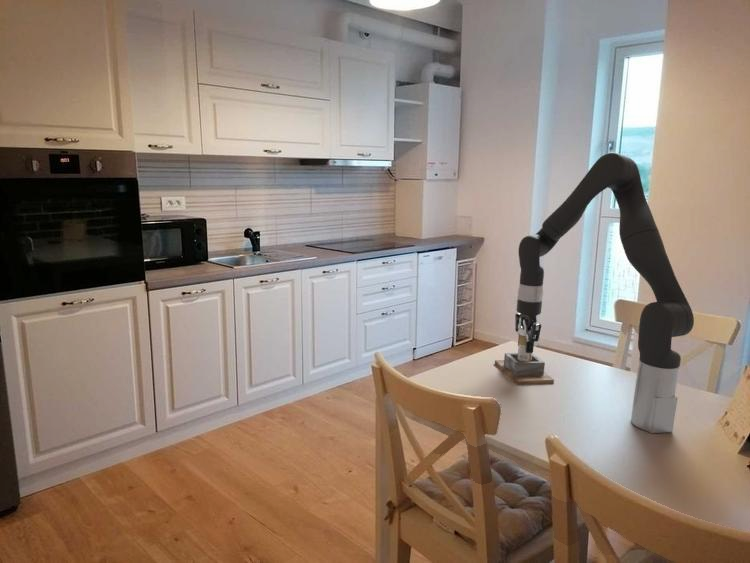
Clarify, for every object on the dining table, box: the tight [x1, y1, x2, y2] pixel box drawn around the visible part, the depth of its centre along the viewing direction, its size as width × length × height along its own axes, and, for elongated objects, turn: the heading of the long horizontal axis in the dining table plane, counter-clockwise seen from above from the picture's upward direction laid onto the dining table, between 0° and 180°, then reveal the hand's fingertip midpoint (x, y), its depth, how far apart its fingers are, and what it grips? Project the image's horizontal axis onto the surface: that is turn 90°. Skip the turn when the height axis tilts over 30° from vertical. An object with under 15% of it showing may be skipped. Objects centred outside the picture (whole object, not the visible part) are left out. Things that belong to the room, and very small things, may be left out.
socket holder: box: [494, 352, 555, 386], centre depth 175 cm, size 18×12×5 cm, turn 10°
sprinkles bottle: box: [517, 328, 532, 362], centre depth 174 cm, size 5×5×13 cm
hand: (525, 349), depth 174 cm, fingers open, 5 cm apart
